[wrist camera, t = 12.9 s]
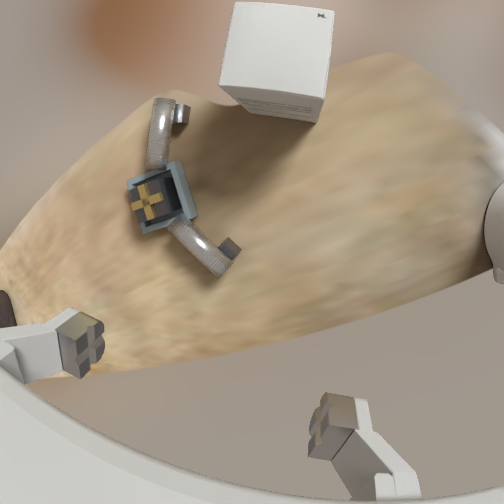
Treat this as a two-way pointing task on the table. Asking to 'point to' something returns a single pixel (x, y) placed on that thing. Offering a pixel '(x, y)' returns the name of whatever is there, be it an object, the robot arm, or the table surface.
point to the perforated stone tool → (6, 311)
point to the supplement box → (278, 59)
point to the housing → (182, 188)
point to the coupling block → (155, 199)
